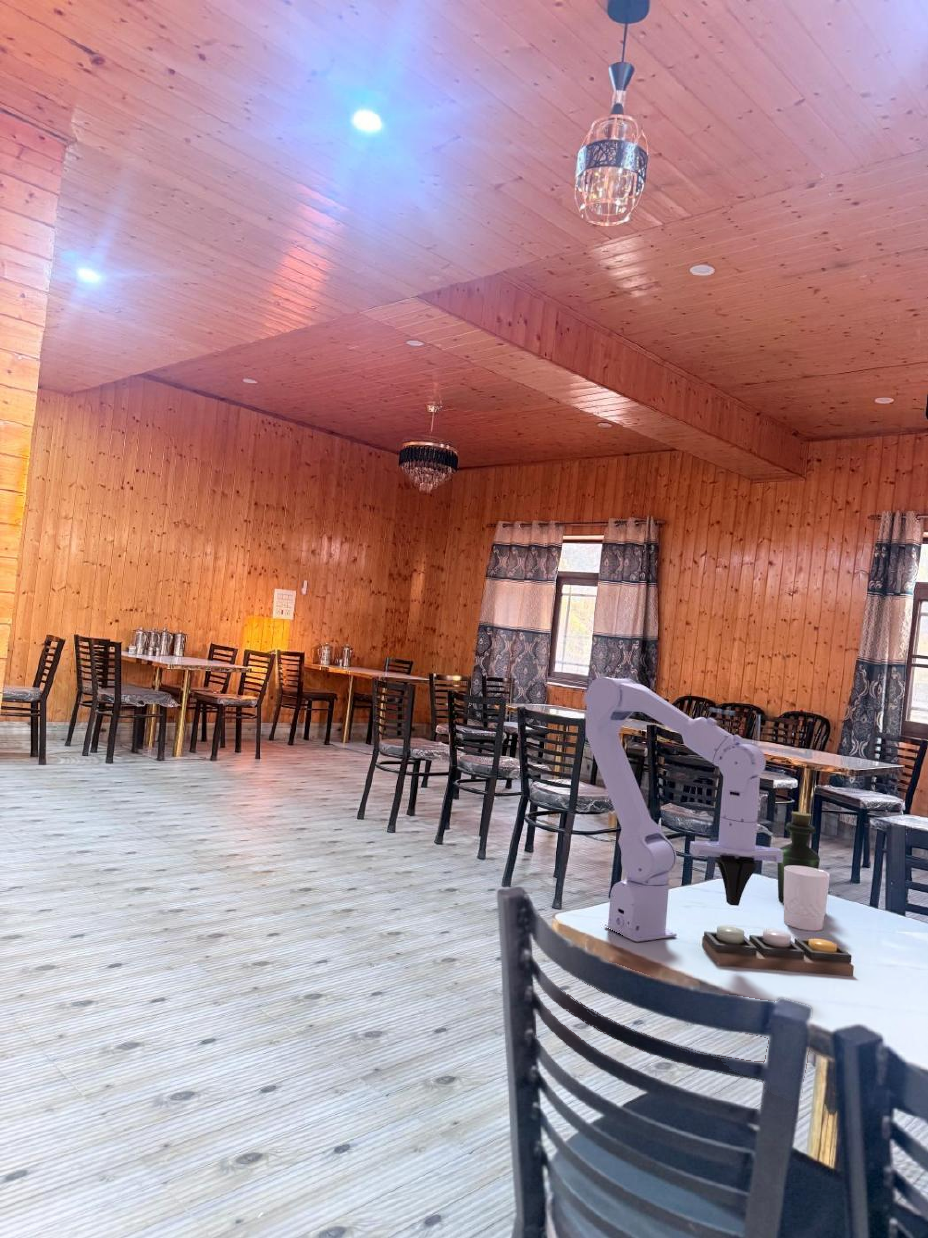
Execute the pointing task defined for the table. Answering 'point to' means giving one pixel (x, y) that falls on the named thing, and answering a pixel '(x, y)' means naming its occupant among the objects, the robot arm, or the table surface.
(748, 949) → the button panel
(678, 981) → the table surface
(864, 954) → the table surface
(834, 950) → the amber button
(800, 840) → the potion bottle
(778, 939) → the pale pink button
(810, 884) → the white cup
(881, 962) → the table surface
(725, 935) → the sage button
